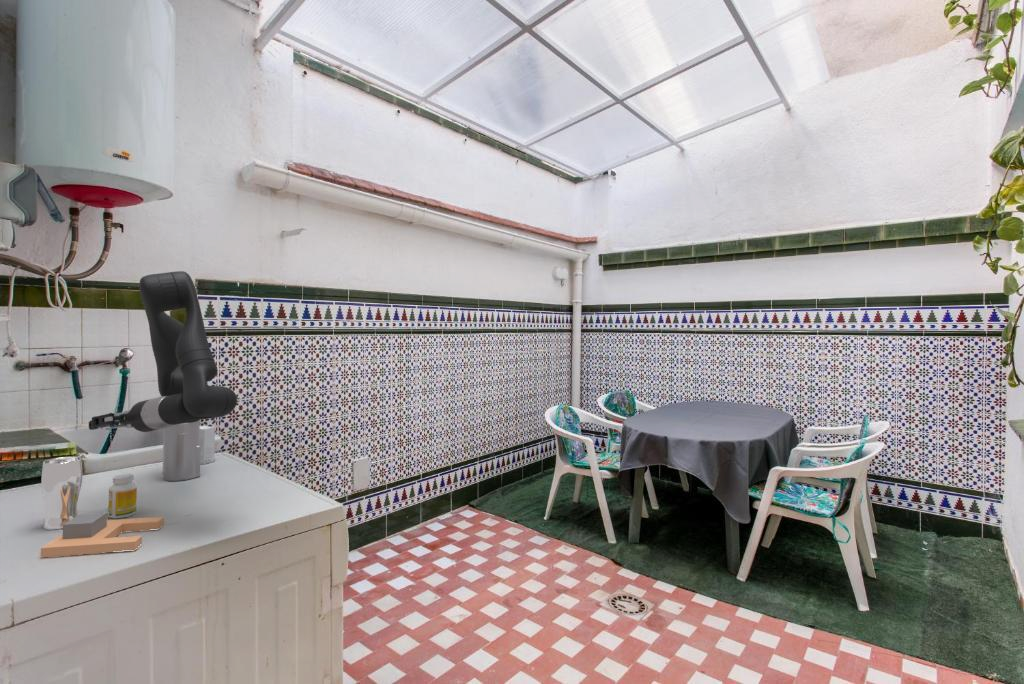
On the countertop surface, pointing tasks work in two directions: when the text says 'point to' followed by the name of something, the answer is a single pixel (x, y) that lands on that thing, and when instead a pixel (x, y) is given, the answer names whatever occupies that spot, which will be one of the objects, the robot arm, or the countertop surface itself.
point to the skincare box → (207, 444)
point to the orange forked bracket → (98, 535)
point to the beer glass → (61, 490)
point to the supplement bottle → (122, 496)
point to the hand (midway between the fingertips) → (109, 424)
